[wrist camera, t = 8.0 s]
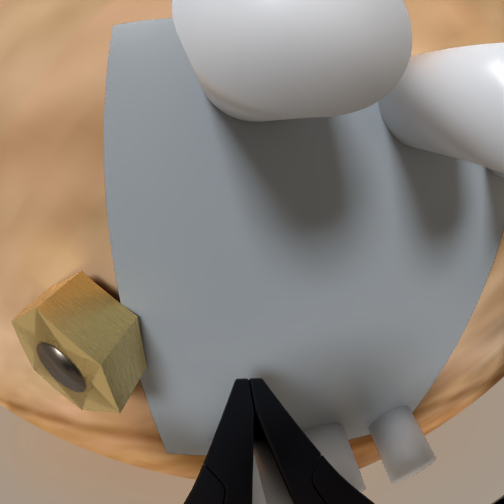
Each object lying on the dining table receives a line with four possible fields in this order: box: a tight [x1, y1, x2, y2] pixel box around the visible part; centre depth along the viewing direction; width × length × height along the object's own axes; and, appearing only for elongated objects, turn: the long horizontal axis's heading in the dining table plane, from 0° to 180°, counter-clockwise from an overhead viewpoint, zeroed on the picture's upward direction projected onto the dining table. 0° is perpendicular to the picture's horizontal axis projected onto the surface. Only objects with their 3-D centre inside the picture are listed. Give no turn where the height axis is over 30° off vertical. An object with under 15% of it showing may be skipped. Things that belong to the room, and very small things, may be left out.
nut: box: [12, 271, 147, 413], centre depth 8 cm, size 4×5×2 cm
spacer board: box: [104, 0, 504, 504], centre depth 9 cm, size 16×20×5 cm
